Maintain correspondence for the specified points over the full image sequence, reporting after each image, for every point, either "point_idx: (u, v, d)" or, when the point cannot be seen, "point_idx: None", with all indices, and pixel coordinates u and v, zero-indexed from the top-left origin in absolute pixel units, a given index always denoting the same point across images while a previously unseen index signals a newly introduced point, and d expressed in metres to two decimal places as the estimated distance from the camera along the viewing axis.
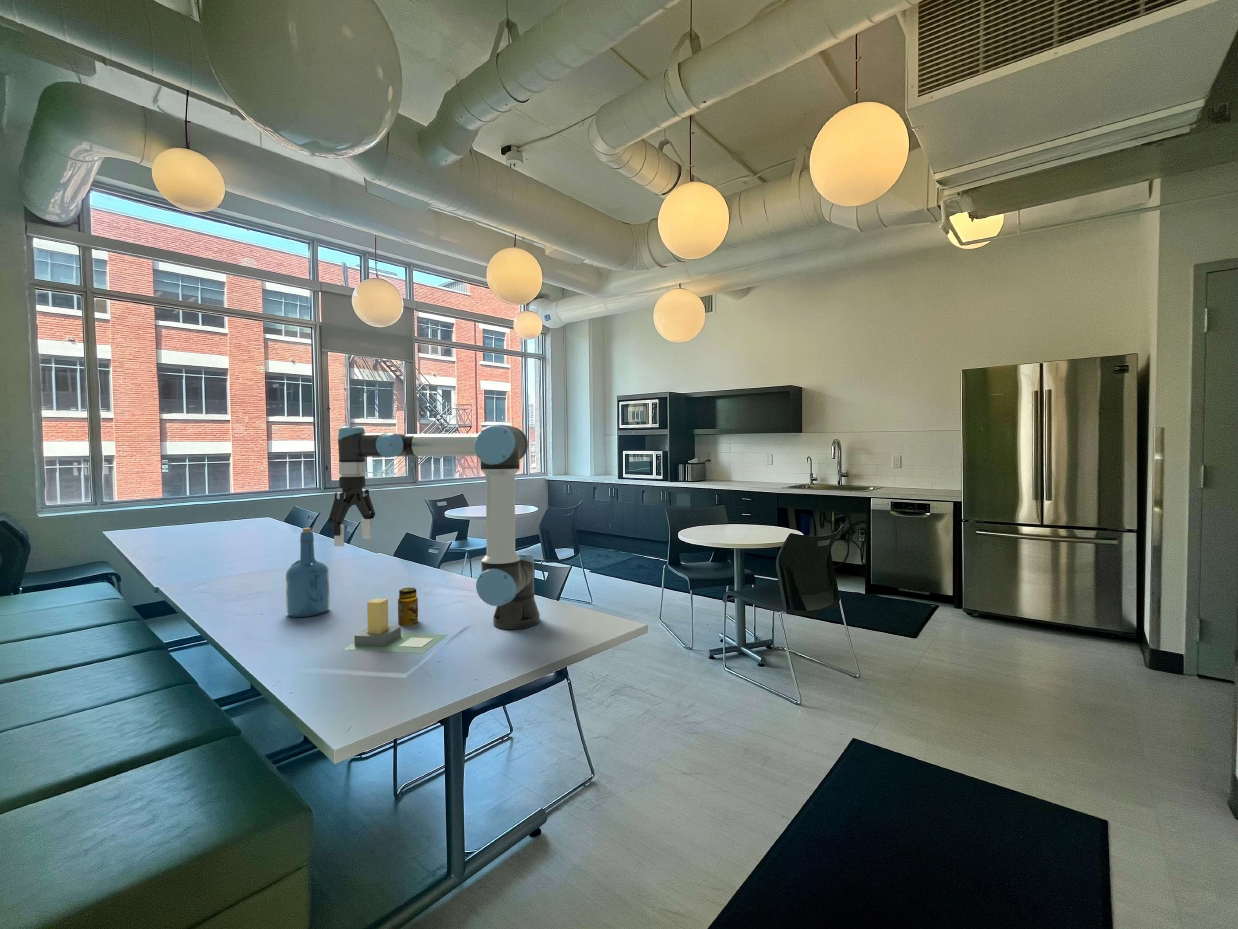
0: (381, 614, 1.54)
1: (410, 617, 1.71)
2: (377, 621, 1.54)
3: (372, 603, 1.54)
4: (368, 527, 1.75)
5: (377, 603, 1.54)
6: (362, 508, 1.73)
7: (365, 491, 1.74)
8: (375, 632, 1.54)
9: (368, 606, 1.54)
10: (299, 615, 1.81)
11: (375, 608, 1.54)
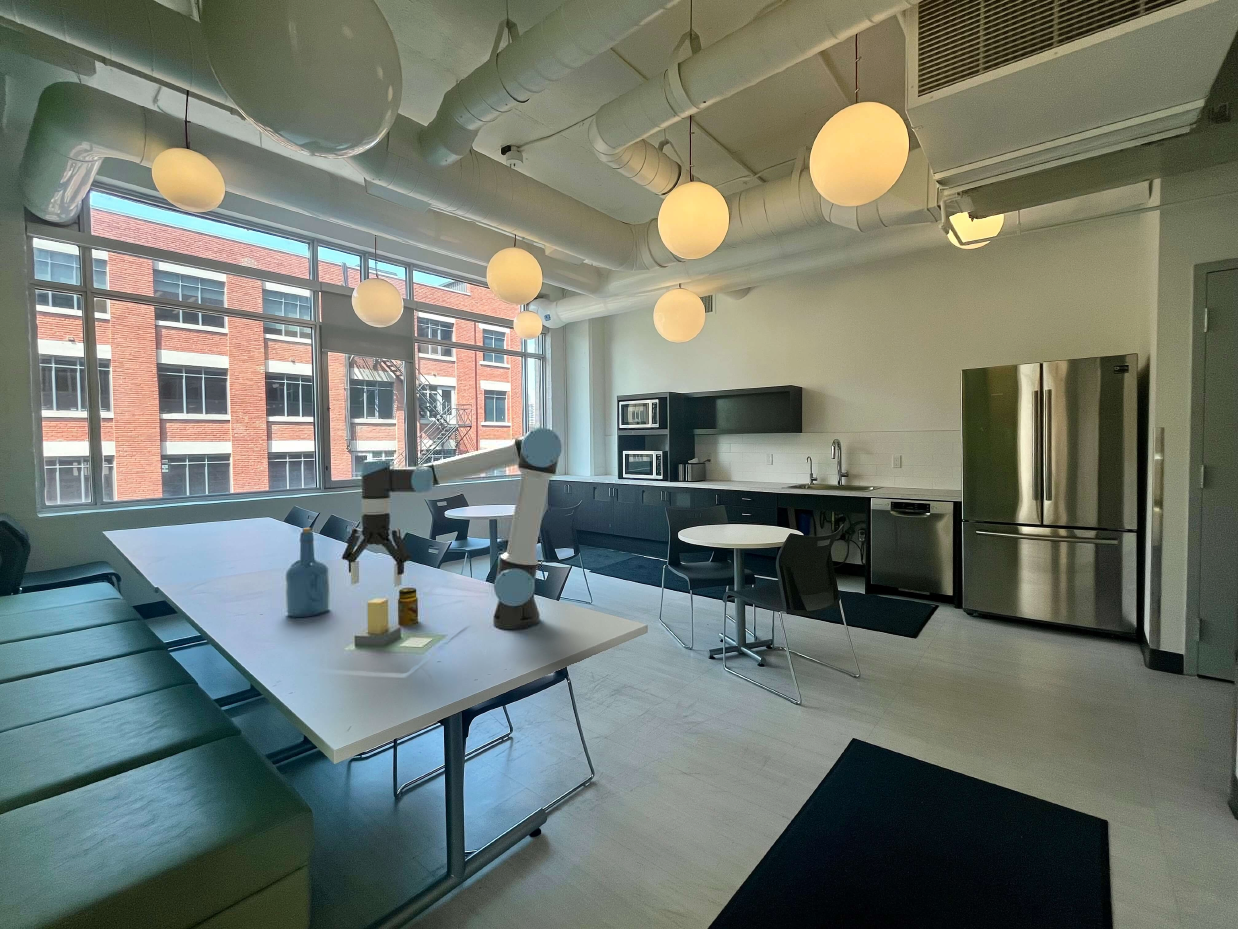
0: (381, 614, 1.54)
1: (410, 617, 1.71)
2: (377, 621, 1.54)
3: (372, 603, 1.54)
4: None
5: (377, 603, 1.54)
6: None
7: None
8: (375, 632, 1.54)
9: (368, 606, 1.54)
10: (299, 615, 1.81)
11: (375, 608, 1.54)
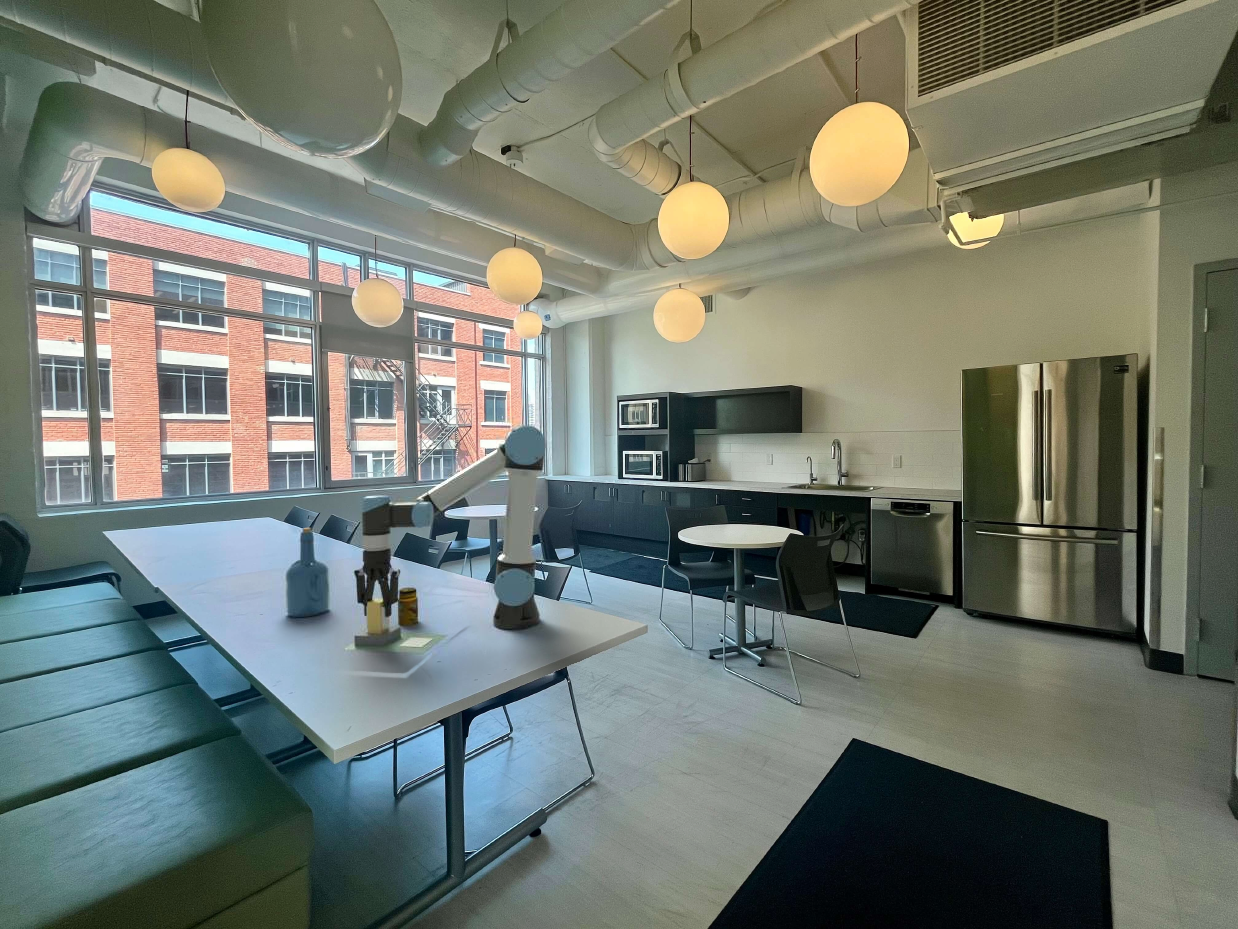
0: (381, 614, 1.54)
1: (410, 617, 1.71)
2: (377, 621, 1.54)
3: (372, 603, 1.54)
4: None
5: (377, 603, 1.54)
6: None
7: None
8: (375, 632, 1.54)
9: (368, 606, 1.54)
10: (299, 615, 1.81)
11: (375, 608, 1.54)
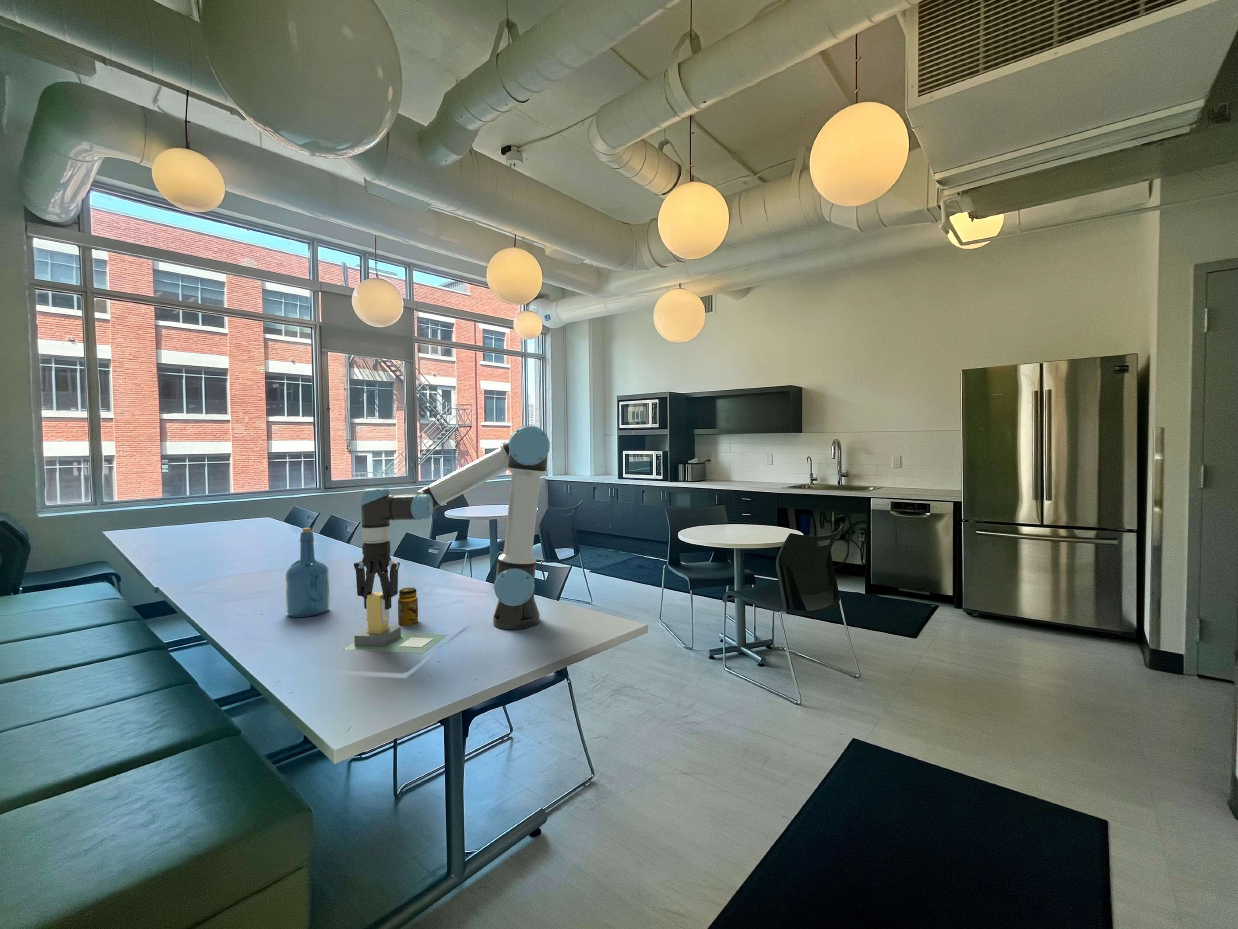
0: None
1: (410, 617, 1.71)
2: (377, 614, 1.54)
3: (372, 596, 1.54)
4: None
5: (377, 596, 1.54)
6: None
7: None
8: (375, 625, 1.54)
9: (368, 599, 1.54)
10: (299, 615, 1.81)
11: (375, 601, 1.54)
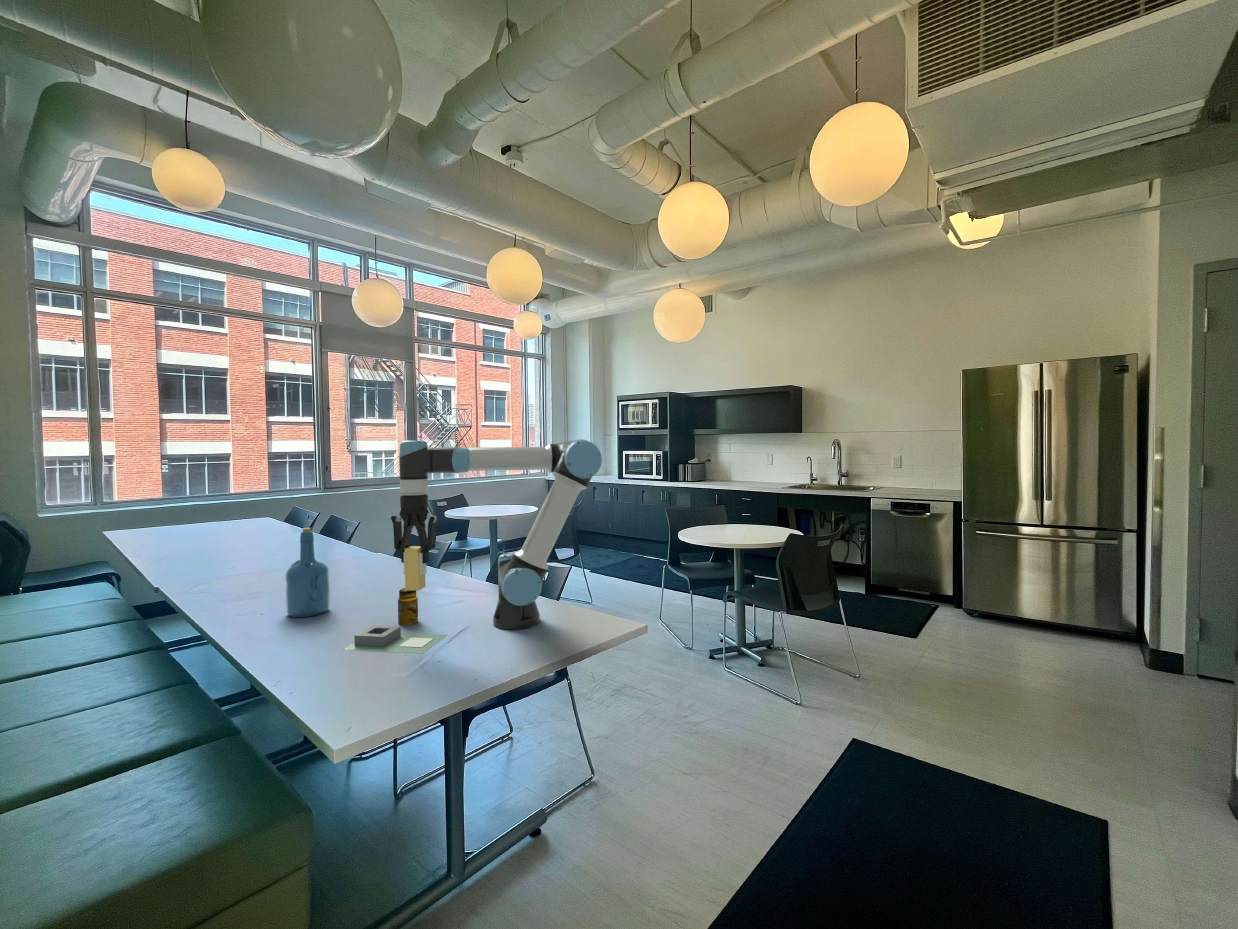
0: (418, 561, 1.52)
1: (410, 617, 1.71)
2: (414, 568, 1.52)
3: (409, 549, 1.52)
4: None
5: (415, 549, 1.52)
6: None
7: None
8: (413, 579, 1.52)
9: (405, 552, 1.52)
10: (299, 615, 1.81)
11: (413, 554, 1.52)
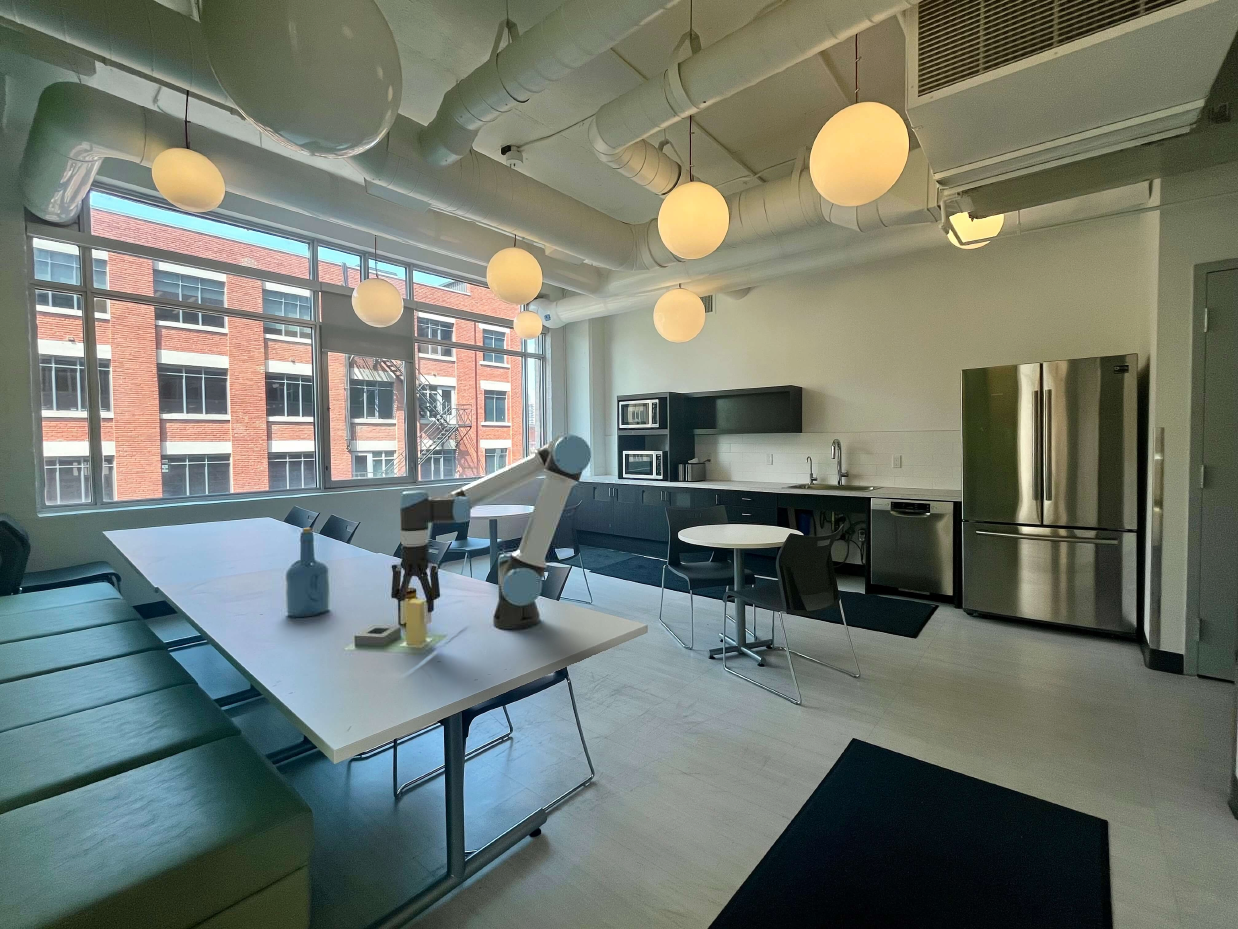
0: (420, 615, 1.53)
1: None
2: (416, 622, 1.52)
3: (411, 604, 1.52)
4: None
5: (416, 604, 1.52)
6: None
7: None
8: (414, 633, 1.53)
9: (407, 606, 1.53)
10: (299, 615, 1.81)
11: (414, 609, 1.52)
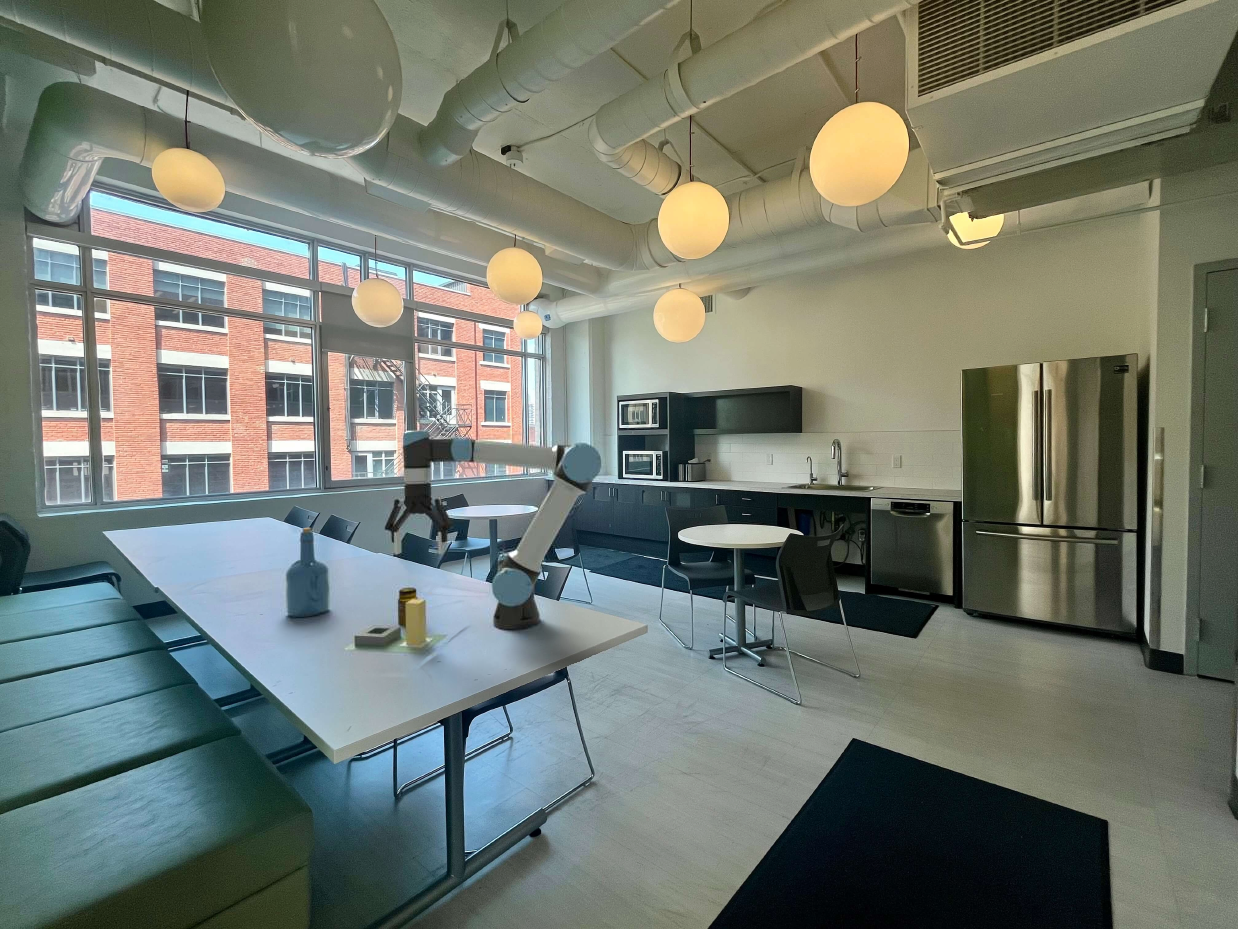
0: (419, 615, 1.53)
1: None
2: (415, 622, 1.52)
3: (410, 604, 1.52)
4: None
5: (416, 604, 1.52)
6: None
7: None
8: (413, 633, 1.53)
9: (406, 607, 1.53)
10: (299, 615, 1.81)
11: (414, 609, 1.52)
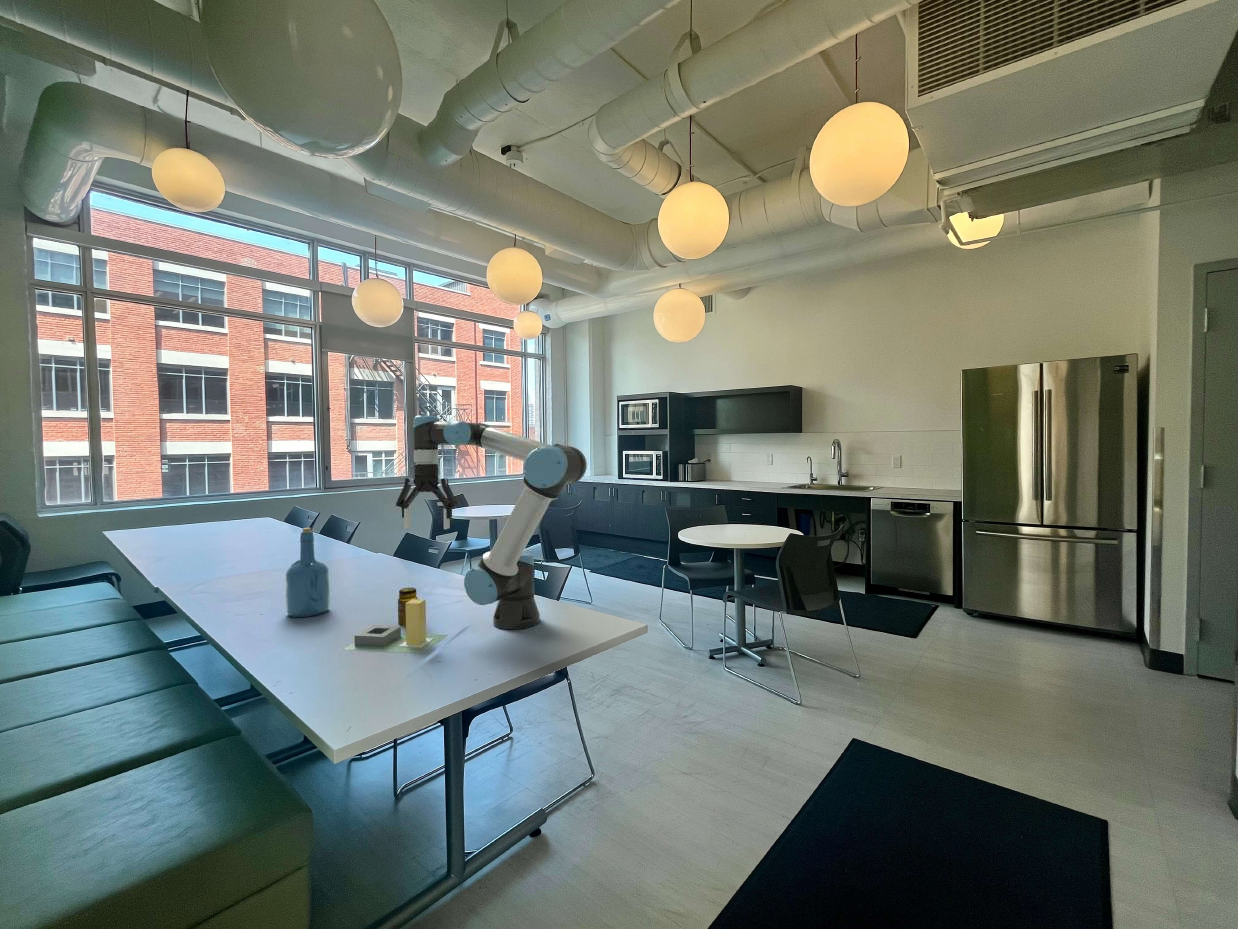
0: (419, 615, 1.53)
1: None
2: (415, 622, 1.52)
3: (410, 604, 1.52)
4: None
5: (416, 604, 1.52)
6: None
7: None
8: (413, 633, 1.53)
9: (406, 607, 1.53)
10: (299, 615, 1.81)
11: (414, 609, 1.52)
